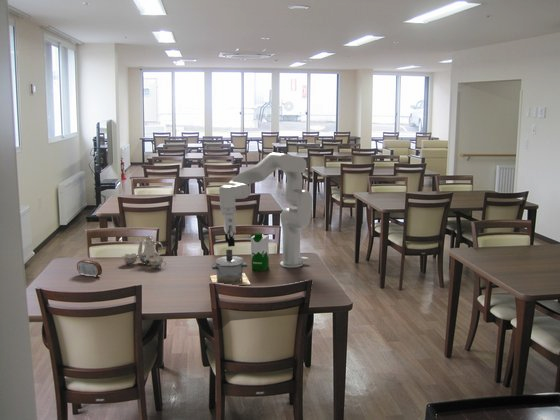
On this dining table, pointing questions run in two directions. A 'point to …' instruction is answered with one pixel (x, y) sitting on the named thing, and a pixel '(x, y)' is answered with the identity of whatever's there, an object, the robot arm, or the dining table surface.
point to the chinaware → (146, 254)
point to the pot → (230, 274)
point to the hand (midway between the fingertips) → (230, 243)
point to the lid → (229, 259)
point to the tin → (89, 267)
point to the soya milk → (260, 252)
